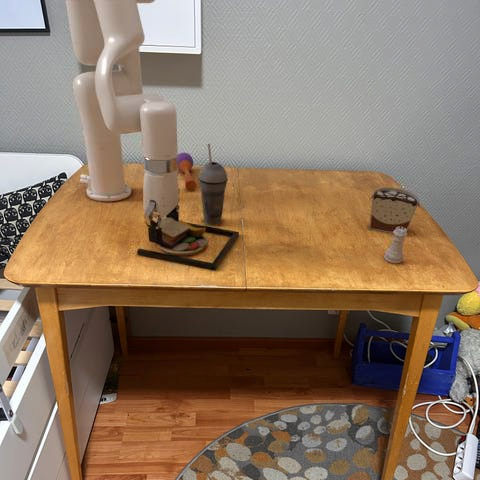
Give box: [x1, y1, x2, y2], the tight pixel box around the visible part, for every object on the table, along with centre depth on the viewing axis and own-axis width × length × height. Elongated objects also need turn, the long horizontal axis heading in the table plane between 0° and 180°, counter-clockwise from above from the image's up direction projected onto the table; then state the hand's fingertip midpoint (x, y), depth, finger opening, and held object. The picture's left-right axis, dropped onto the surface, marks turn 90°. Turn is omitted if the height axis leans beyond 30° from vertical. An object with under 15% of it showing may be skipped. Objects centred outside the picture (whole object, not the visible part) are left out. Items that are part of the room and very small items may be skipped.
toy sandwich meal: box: [155, 217, 208, 257], centre depth 112 cm, size 12×14×5 cm
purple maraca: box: [178, 152, 197, 192], centre depth 146 cm, size 6×6×20 cm
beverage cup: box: [198, 143, 228, 226], centre depth 118 cm, size 7×7×20 cm
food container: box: [368, 187, 421, 234], centre depth 123 cm, size 12×6×10 cm, turn 71°
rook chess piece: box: [383, 227, 408, 264], centre depth 110 cm, size 4×4×8 cm
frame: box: [136, 221, 240, 271], centre depth 113 cm, size 19×18×1 cm
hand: (164, 233), depth 113 cm, fingers open, 9 cm apart
